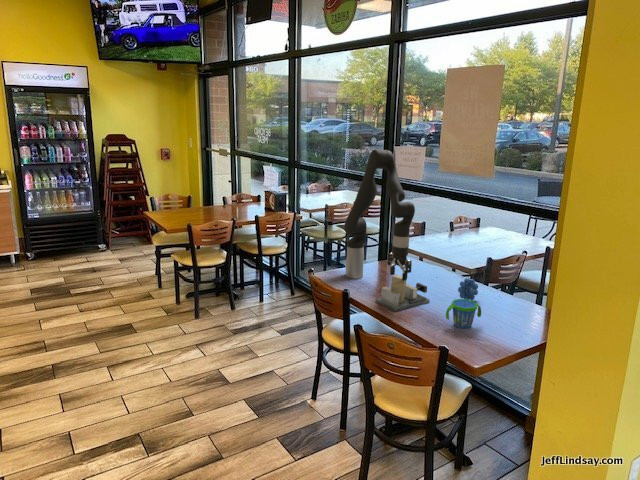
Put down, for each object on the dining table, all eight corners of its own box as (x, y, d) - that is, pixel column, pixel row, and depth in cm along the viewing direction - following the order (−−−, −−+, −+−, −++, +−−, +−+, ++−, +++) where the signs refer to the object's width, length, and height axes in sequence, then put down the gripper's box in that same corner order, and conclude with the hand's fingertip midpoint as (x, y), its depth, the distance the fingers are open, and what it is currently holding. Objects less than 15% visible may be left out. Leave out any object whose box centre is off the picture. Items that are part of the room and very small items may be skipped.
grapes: (462, 305, 228) (464, 282, 225) (454, 300, 235) (456, 277, 231) (482, 302, 232) (485, 279, 229) (473, 297, 239) (476, 274, 235)
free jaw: (398, 294, 237) (399, 283, 235) (415, 290, 242) (416, 279, 241) (412, 301, 228) (413, 289, 227) (429, 296, 234) (430, 285, 233)
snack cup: (449, 331, 202) (451, 308, 199) (440, 320, 212) (442, 299, 209) (485, 330, 203) (487, 307, 201) (474, 319, 214) (477, 298, 211)
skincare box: (389, 300, 230) (391, 276, 226) (392, 297, 233) (394, 273, 230) (402, 303, 227) (403, 278, 224) (405, 300, 230) (406, 276, 227)
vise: (375, 301, 232) (376, 286, 230) (409, 293, 244) (410, 279, 242) (394, 311, 221) (395, 296, 219) (429, 302, 232) (430, 287, 230)
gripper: (384, 241, 227) (382, 274, 231) (404, 249, 215) (402, 283, 219) (396, 239, 230) (394, 271, 235) (417, 247, 219) (414, 280, 223)
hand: (398, 277), depth 227 cm, fingers open, 8 cm apart
